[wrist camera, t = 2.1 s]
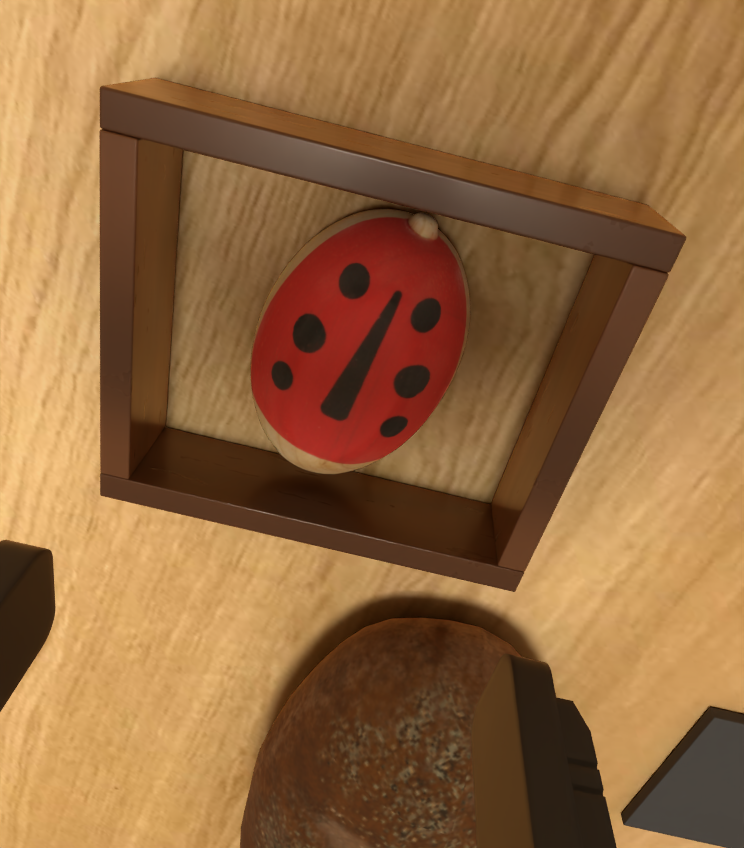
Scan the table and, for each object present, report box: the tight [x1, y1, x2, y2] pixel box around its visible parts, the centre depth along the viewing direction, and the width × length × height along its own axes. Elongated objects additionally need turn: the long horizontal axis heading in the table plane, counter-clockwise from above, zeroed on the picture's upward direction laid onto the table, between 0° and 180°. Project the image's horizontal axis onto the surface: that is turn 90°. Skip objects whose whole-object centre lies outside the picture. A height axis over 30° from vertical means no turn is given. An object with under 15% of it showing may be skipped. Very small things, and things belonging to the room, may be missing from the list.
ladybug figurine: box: [251, 209, 470, 474], centre depth 21 cm, size 7×10×4 cm
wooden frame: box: [100, 78, 686, 592], centre depth 21 cm, size 13×15×4 cm
